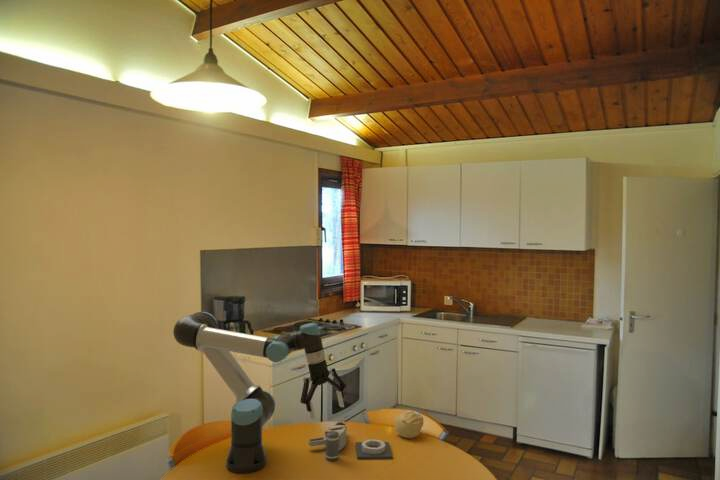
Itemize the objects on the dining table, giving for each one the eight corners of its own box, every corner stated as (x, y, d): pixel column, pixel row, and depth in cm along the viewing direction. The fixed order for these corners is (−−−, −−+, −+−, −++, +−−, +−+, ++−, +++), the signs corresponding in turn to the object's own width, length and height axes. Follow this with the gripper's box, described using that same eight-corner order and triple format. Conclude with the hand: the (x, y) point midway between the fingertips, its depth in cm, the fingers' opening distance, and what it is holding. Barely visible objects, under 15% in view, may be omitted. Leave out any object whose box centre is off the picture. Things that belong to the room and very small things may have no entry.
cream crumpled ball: (409, 443, 213) (410, 418, 213) (389, 434, 222) (390, 410, 222) (427, 436, 221) (427, 412, 220) (407, 428, 229) (407, 405, 229)
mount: (357, 459, 197) (357, 451, 197) (355, 444, 211) (355, 437, 211) (392, 458, 198) (392, 451, 198) (388, 444, 212) (388, 437, 212)
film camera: (314, 436, 222) (348, 436, 221) (307, 452, 202) (344, 453, 202) (314, 420, 222) (347, 420, 221) (307, 435, 203) (343, 435, 202)
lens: (325, 461, 195) (325, 436, 195) (325, 455, 200) (325, 431, 200) (338, 461, 195) (338, 436, 195) (338, 455, 200) (338, 430, 200)
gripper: (293, 371, 192) (304, 425, 191) (347, 352, 205) (358, 403, 205) (285, 370, 198) (296, 422, 197) (338, 351, 211) (348, 400, 211)
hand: (327, 412), depth 201 cm, fingers open, 13 cm apart
